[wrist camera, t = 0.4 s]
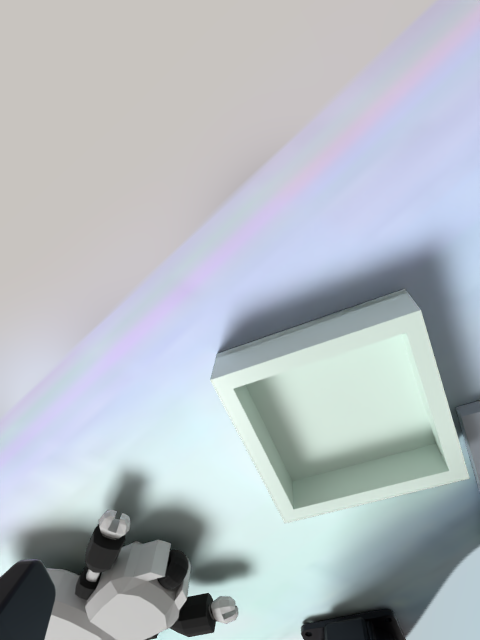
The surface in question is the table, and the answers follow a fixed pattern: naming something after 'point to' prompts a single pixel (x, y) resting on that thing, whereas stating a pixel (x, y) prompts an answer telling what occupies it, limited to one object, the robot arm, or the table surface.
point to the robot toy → (130, 591)
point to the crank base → (471, 434)
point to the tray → (343, 409)
